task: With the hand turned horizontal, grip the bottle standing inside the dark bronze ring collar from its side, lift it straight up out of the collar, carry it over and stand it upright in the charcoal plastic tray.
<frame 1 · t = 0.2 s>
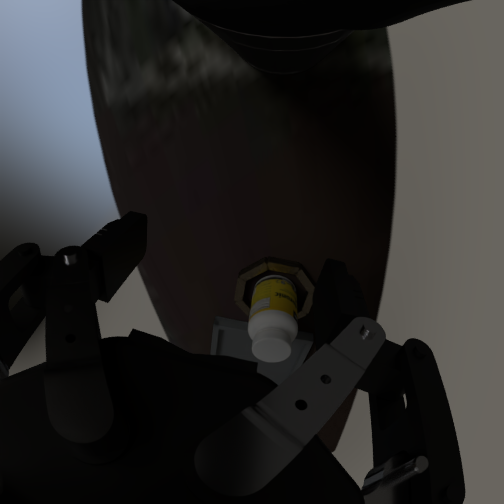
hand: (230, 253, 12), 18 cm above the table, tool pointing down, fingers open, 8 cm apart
supplement bottle: (275, 289, 35), resting in ring collar
ring collar: (275, 290, 35), on the table
tray: (255, 356, 43), on the table
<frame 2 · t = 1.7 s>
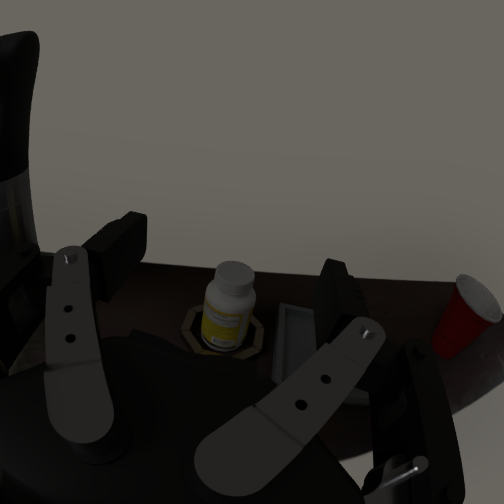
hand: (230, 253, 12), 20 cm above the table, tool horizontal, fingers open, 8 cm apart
supplement bottle: (222, 336, 33), resting in ring collar
ring collar: (222, 335, 33), on the table
tray: (330, 357, 33), on the table
plastic cup: (442, 349, 38), on the table
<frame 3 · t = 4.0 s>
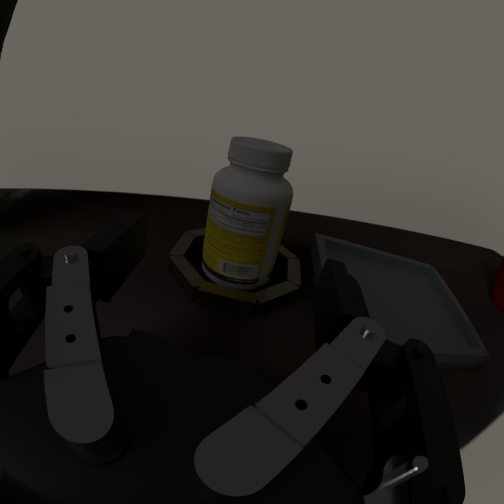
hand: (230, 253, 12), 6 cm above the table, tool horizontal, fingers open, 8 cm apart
supplement bottle: (234, 272, 22), resting in ring collar
ring collar: (235, 270, 22), on the table
tray: (394, 305, 22), on the table
plastic cup: (502, 306, 27), on the table
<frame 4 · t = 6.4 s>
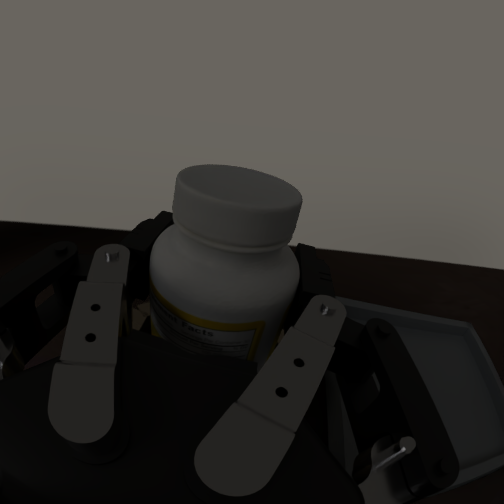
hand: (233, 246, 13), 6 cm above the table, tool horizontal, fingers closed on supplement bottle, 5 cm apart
supplement bottle: (205, 373, 13), resting in ring collar, touching gripper
ring collar: (206, 371, 13), on the table
tray: (427, 398, 13), on the table
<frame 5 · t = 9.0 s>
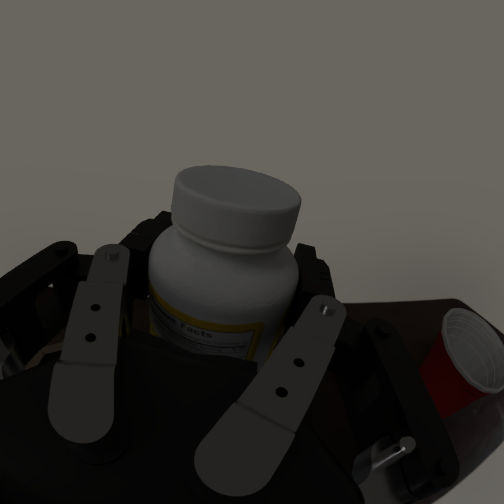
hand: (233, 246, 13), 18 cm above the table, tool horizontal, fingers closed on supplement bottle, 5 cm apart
supplement bottle: (205, 374, 13), point 12 cm above the table, touching gripper
ring collar: (69, 387, 20), on the table
plastic cup: (416, 411, 25), on the table
when the fingers open (7 cm above the table, at t = 12.0 s): supplement bottle stays where it is, resting on tray.
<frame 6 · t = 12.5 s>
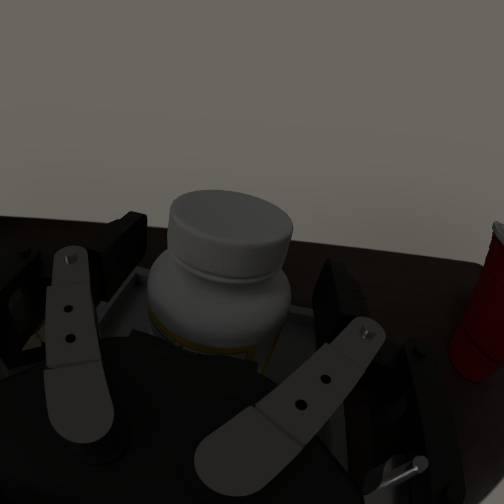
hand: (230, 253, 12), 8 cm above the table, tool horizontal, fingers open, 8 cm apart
supplement bottle: (203, 384, 14), resting on tray
ring collar: (18, 311, 14), on the table
tray: (203, 386, 14), on the table
plastic cup: (467, 363, 19), on the table
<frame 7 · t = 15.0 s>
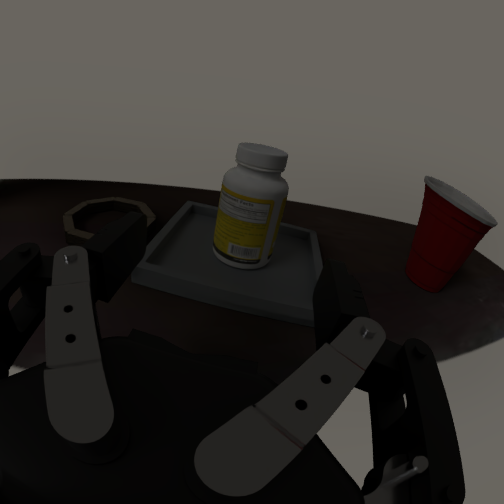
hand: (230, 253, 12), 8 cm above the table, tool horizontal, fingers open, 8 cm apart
supplement bottle: (240, 255, 26), resting on tray
ring collar: (108, 226, 26), on the table
tray: (239, 258, 26), on the table
plastic cup: (422, 281, 31), on the table
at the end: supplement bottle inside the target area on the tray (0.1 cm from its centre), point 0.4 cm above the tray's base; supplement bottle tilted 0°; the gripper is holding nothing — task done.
